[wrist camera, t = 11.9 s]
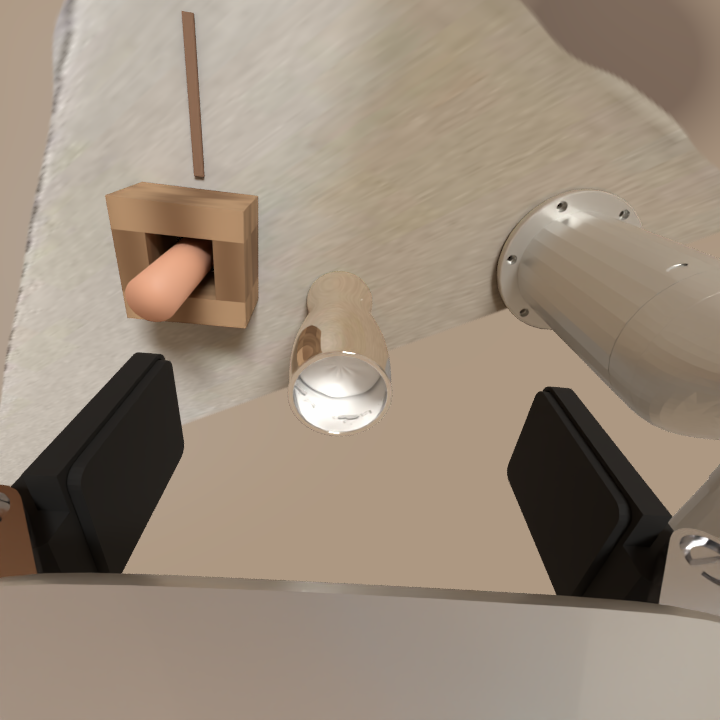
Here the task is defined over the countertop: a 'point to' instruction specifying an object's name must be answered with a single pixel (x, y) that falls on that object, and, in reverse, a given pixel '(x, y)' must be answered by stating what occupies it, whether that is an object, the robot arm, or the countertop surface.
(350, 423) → the beer glass
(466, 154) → the countertop surface
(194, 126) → the brown thin square rod
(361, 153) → the countertop surface
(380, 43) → the countertop surface
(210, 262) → the dowel
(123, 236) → the wooden block with hole
